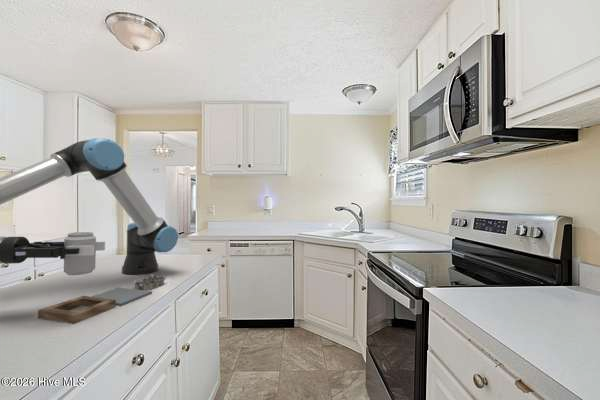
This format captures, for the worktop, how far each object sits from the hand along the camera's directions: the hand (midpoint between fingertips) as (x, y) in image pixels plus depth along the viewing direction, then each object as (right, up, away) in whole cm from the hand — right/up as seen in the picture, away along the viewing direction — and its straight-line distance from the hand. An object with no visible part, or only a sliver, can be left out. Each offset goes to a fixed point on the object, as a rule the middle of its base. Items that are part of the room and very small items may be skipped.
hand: (99, 248), depth 86 cm
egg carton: (+2, -20, +25) cm, 32 cm away
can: (-5, -7, -1) cm, 9 cm away
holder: (-5, -19, -1) cm, 20 cm away
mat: (-2, -19, +12) cm, 23 cm away
